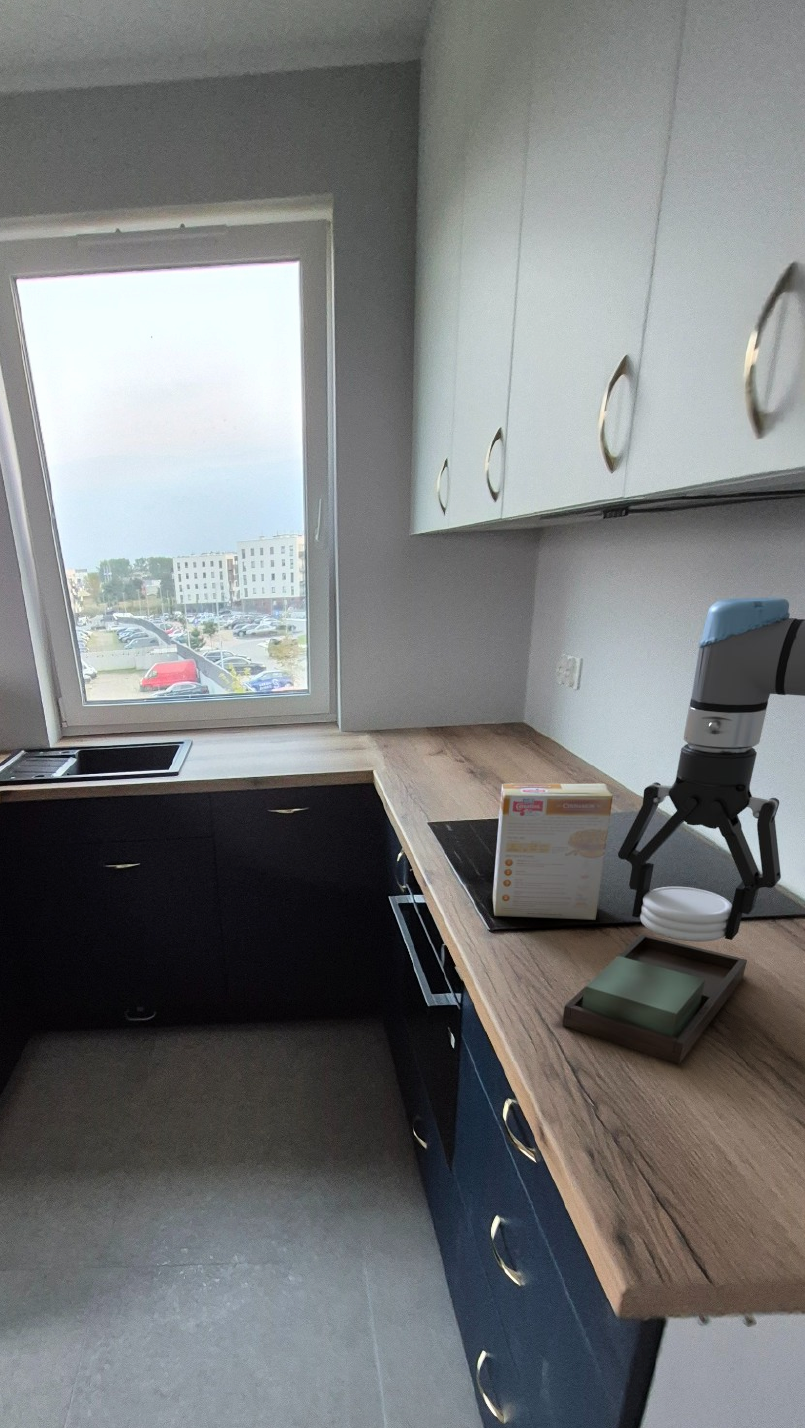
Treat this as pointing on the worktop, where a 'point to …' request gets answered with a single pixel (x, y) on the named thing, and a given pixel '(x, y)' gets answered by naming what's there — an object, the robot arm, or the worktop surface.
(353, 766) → the worktop surface
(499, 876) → the coffeecake box
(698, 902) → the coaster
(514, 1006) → the worktop surface
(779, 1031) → the worktop surface
